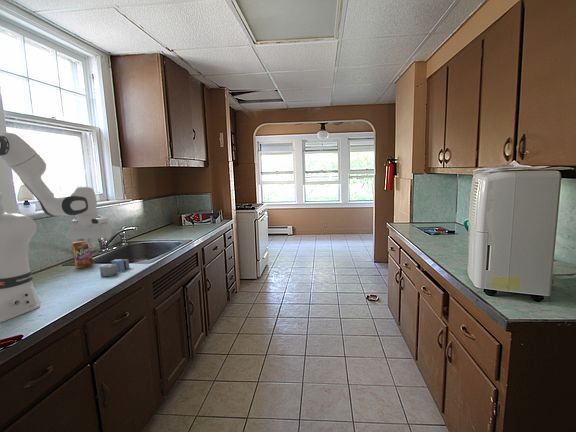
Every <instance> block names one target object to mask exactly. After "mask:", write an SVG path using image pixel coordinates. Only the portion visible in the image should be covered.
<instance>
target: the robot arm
mask: <svg viewBox="0 0 576 432" xmlns="http://www.w3.org/2000/svg"><path fill="white" fill-rule="evenodd" d="M0 159H2V160H3V161H4V163H6V164H7V165H8V167H10V168H11V170H13V172H14V173H15V174H16V175H17V176H18V178H19V179H20V181H21V182H22V183H23V184H24V185H25V187H26V188H27V190H29V192H31V194H32V195H33V196H34V197H35V198H36V200H37V201H38V202H39V205H40V207H41V210H42V211H43V212H44V214H45V215H47V216H49V217H52V218H54V217H73V216H76V217H77V219H73V220H70V221H69V237H70V239H72V240H76V239H78V240H81V239H84V241H86V242H87V244H88V247H91V248H96V247H97V242H98V240H99V239H108V238H111V237H112V234H113V233H112V228H111V224H110V223H109V221H110V219H109V217H107V216H104V215H101V214H99V211H98V208H97V207H98V206H97V205H98V202H97V197H96V194H95V193H96V192H95V191H94V189H93V188H92V187H89V186H75V187H74V189H73V190H71V191H70V192H68V193H67V194H65V195H63V194H62V195H61V194H60V195H59V194H56V193H54V192H52V191H51V189H50V188H49V187H48V186H47V184H46V183H45V182H44V180H43V179H42V176H43V175H44V173H45V172H46V170H47V163H46V162H45V160H44V158H43V157H42V156H41V154H40V153H39V152H38V151H37V150H36V149H35V148H34V147H33V146H32V145H31V144H30V143H29V142H28V141H27V140H25V139H24V138H23V137H22V136H20V135H19V134H18V133H16V132H11V131H6V132H1V133H0ZM3 198H4V197H3V194H2V192H1V191H0V324H1V323H3V322H5V321H8V320H10V319H13V318H16V317H18V316H21V315H23V314H26V313H29V312H31V311H33V310H36V309H38V308H40V307H41V301H40V299H39V297H38V294H37V292H36V289H35V287H34V284H33V279H34V278H33V277H34V276H33V273H32V270H31V268H30V262H29V245H30V243H31V242H30V241H31V238H32V237H33V236H35V234H36V231H37V223H36V222H35V220H34V219H33V218H32V217H31V216H28V215H24V214H21V213H8V212H7V211H6V210H5V208H4V205H3Z"/></svg>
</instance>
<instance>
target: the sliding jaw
mask: <svg viewBox="0 0 576 432" xmlns="http://www.w3.org/2000/svg"><path fill="white" fill-rule="evenodd" d="M99 272H100V277H113V276H115V275H117V274H118V273H119V272H118V271H117V265H116V264H111V263H110V264H109V263H107V264H106V263H105V264H104V265H102V266H99Z"/></svg>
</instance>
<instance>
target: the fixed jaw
mask: <svg viewBox="0 0 576 432" xmlns="http://www.w3.org/2000/svg"><path fill="white" fill-rule="evenodd" d="M123 259H124V267H125V270H128V269H130V262H129V258H127V259H126V258H123Z"/></svg>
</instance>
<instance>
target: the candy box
mask: <svg viewBox="0 0 576 432" xmlns="http://www.w3.org/2000/svg"><path fill="white" fill-rule="evenodd" d="M72 247H73V248H72V249H73V257H74V264H75V265H74V266H75V269H76V270H77V269H82V268H88V267H94V258H93V250H92V247H88V244H87V242H86V241H85V240H80V241H73V242H72Z"/></svg>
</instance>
